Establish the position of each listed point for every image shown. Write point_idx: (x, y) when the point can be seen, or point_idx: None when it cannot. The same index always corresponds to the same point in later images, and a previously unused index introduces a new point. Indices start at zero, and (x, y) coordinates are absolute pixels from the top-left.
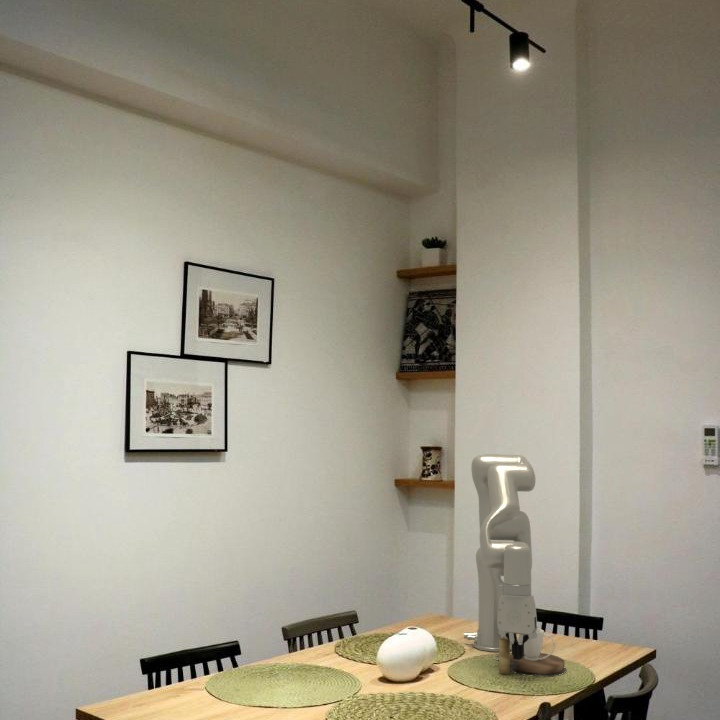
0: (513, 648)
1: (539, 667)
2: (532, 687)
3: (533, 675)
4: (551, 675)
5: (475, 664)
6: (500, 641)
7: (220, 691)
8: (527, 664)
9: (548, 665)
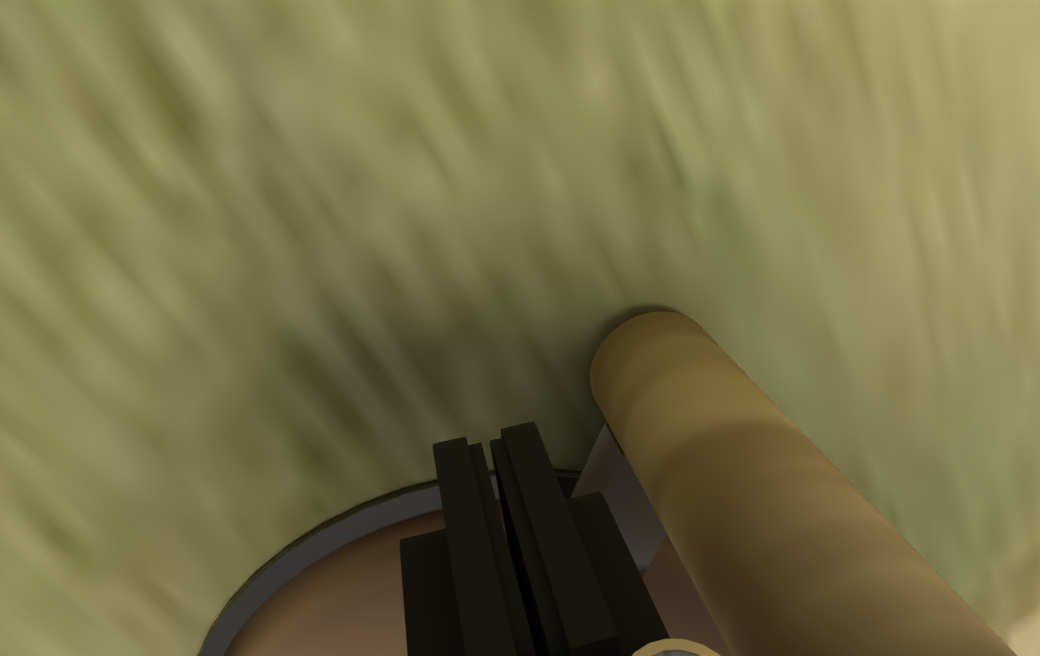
0: (575, 555)
1: (303, 625)
2: (16, 83)
3: (356, 511)
4: (213, 627)
5: (995, 426)
6: (961, 617)
7: None
8: None
9: None
